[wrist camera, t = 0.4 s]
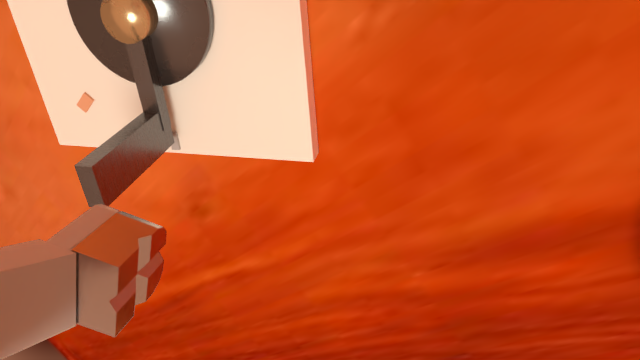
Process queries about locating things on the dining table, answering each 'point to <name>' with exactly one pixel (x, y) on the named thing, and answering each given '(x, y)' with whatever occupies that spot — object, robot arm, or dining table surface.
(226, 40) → the dial board
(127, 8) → the dial
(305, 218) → the dining table surface
